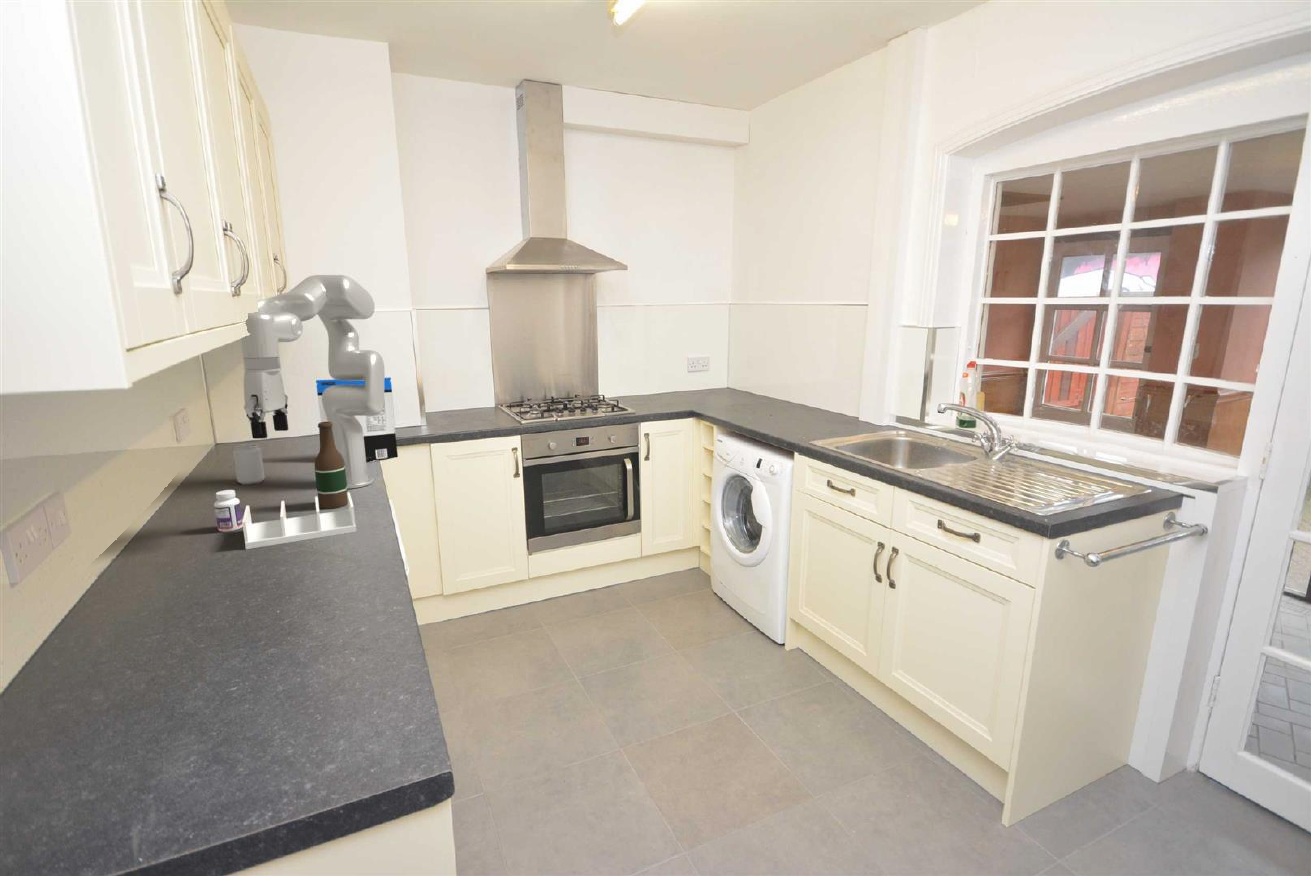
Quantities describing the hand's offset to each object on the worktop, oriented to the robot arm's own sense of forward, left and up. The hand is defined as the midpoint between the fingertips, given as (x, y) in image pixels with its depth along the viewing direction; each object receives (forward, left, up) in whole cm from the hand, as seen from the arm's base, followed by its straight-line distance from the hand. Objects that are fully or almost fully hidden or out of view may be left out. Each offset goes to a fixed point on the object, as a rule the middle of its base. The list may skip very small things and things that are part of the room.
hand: (271, 434), depth 153 cm
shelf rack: (+4, +4, -25) cm, 25 cm away
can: (-55, -10, -25) cm, 61 cm away
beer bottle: (-15, +12, -25) cm, 31 cm away
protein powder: (-68, +24, -25) cm, 77 cm away
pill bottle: (-7, -12, -25) cm, 28 cm away
